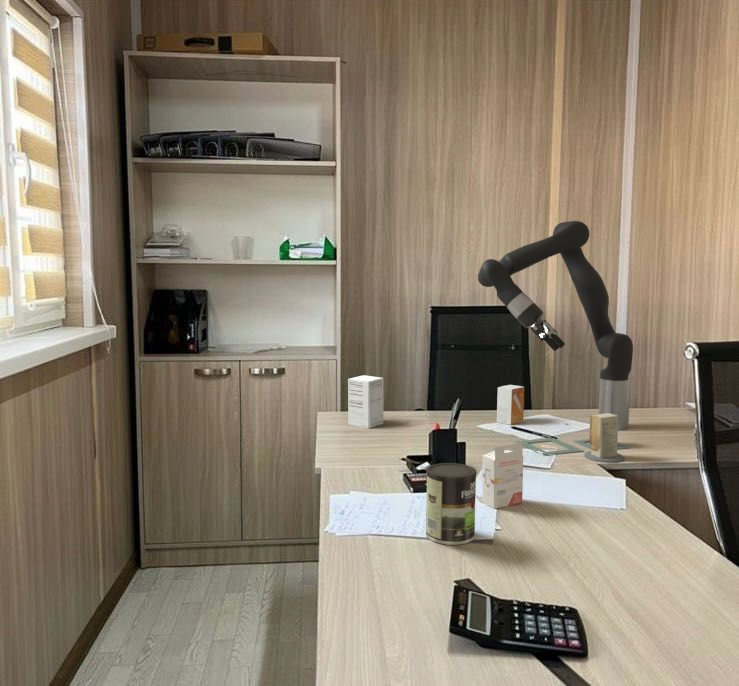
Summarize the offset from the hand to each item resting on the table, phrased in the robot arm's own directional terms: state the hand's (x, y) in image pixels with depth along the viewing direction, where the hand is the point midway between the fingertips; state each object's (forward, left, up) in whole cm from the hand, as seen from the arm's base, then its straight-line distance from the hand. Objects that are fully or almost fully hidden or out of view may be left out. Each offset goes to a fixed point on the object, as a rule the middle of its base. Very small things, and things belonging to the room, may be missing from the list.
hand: (560, 347), depth 210 cm
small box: (-1, -31, -31) cm, 44 cm away
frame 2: (-12, +6, -31) cm, 33 cm away
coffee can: (+64, +57, -31) cm, 91 cm away
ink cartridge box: (+44, +43, -31) cm, 69 cm away
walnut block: (-12, +6, -31) cm, 33 cm away
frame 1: (+5, +3, -31) cm, 31 cm away
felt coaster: (-4, +18, -31) cm, 36 cm away
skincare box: (-4, +18, -30) cm, 35 cm away
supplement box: (+50, -43, -31) cm, 73 cm away
